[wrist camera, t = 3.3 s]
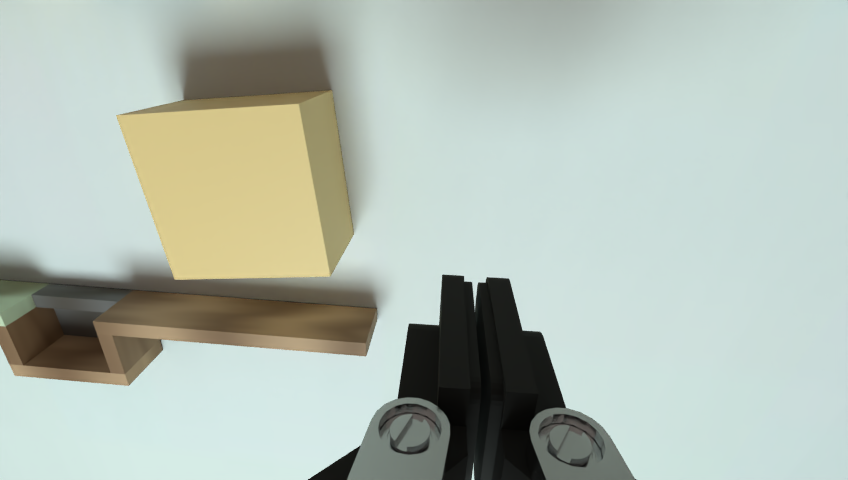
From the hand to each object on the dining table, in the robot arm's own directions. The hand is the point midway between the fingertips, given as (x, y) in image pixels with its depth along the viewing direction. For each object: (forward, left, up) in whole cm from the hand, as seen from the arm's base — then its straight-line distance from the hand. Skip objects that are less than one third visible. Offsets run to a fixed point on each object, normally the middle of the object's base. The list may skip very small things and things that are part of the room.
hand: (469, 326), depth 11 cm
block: (+9, 0, -11) cm, 14 cm away
